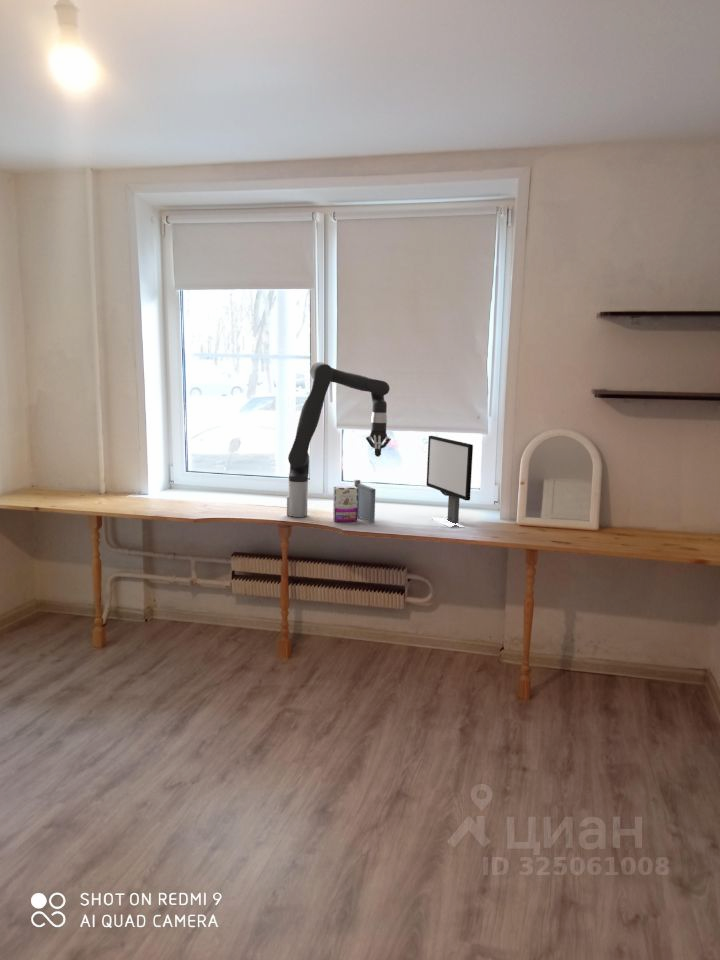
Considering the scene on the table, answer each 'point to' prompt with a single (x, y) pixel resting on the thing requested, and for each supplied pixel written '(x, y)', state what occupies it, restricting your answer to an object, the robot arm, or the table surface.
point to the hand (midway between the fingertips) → (377, 456)
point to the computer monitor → (450, 471)
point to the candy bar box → (345, 504)
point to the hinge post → (356, 482)
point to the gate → (366, 503)
